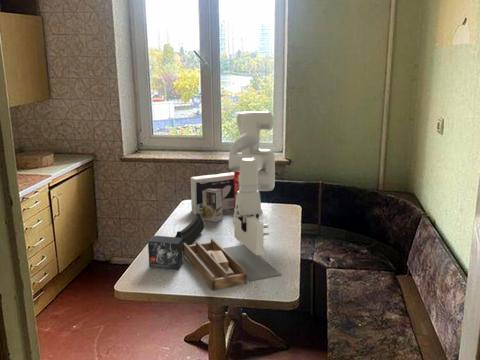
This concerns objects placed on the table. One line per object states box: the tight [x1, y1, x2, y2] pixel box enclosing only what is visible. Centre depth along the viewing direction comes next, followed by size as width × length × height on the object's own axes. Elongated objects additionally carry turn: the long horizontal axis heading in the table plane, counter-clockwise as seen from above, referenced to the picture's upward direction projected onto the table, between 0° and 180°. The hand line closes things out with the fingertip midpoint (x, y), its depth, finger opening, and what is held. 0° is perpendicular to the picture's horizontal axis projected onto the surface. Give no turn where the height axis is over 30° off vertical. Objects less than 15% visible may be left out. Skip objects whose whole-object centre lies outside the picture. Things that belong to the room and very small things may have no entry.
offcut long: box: [207, 250, 235, 276], centre depth 198 cm, size 4×24×3 cm, turn 20°
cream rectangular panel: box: [233, 211, 265, 256], centre depth 199 cm, size 3×22×13 cm, turn 24°
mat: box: [223, 244, 282, 282], centre depth 203 cm, size 14×34×1 cm, turn 24°
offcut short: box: [211, 250, 228, 268], centre depth 197 cm, size 4×12×2 cm, turn 16°
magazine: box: [174, 213, 205, 245], centre depth 221 cm, size 17×3×30 cm
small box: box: [147, 235, 184, 271], centre depth 197 cm, size 13×7×12 cm, turn 80°
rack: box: [183, 238, 248, 291], centre depth 196 cm, size 14×36×6 cm, turn 24°
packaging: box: [190, 171, 234, 215], centre depth 270 cm, size 30×6×20 cm, turn 117°
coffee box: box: [202, 188, 224, 223], centre depth 254 cm, size 9×6×16 cm
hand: (248, 229), depth 199 cm, fingers closed on cream rectangular panel, 3 cm apart
